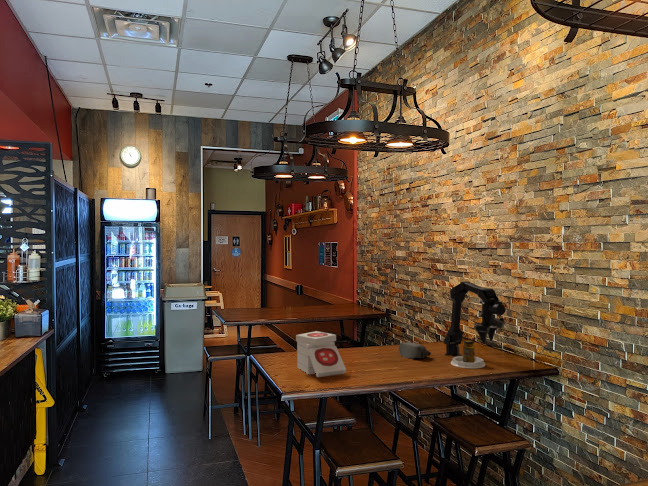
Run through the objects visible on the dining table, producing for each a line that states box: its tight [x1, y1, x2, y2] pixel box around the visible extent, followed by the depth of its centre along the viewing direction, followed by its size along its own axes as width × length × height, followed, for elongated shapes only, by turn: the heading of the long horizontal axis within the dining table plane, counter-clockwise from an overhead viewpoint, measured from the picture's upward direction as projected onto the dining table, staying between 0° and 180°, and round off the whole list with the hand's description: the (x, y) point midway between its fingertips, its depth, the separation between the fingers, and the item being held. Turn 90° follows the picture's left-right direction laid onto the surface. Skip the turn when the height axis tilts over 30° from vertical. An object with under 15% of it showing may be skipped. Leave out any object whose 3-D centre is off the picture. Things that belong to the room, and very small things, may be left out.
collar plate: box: [450, 355, 487, 370], centre depth 264 cm, size 18×18×2 cm
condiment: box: [462, 339, 476, 363], centre depth 263 cm, size 7×8×12 cm
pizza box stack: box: [295, 330, 347, 378], centre depth 252 cm, size 19×30×18 cm, turn 24°
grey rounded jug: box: [398, 340, 432, 360], centre depth 282 cm, size 18×11×8 cm, turn 34°
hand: (487, 342), depth 256 cm, fingers open, 9 cm apart
